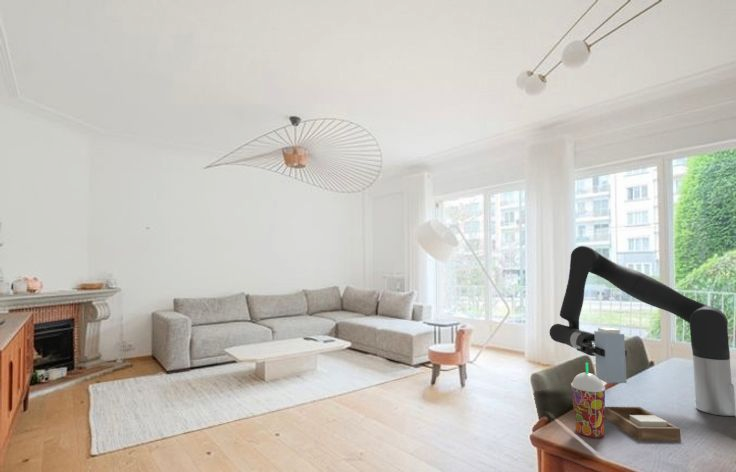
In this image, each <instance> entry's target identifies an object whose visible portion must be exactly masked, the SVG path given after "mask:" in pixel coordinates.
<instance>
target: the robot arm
mask: <svg viewBox="0 0 736 472" xmlns="http://www.w3.org/2000/svg"><path fill="white" fill-rule="evenodd" d="M569 261H570V262H569V274H568V279H567V285H566V289H565V293H564V296H563V298H562V299H563V300H562V303H561V306H560V307H561V308H560V311H559V316H560V317H561V319H563V320H565V321H567V323H568V325H565V324H561V323H554V324H553V325H552V326H550V329H549V336H550V338H551V340H553V341H555V342H557V343H559V344H560V343H561V344H563V345H567V346H569V347H571V348H573V349H575V350H576V351H577V352H580V353H583V354H585V355H587V356H591V357H595V355H596V354H597V355H600V356H605V350H604V349H601V348H599V347H597V346H595V335H594V333H592V332H589V331H587V330H581V329H580V316H581V313H582V309H583V305H584V300H585V288H586V284H587V283H586V282H587V279H588V276H589V273H590V274H593V275H596V276H598V277H601V278H602V279H604V280H606V281H607V282H608V283H611V284H612V285H613V286H614V287H616V288H618V289H619V290H620V291H622V292H623V293H625V294H627V295H629V296H630V297H632V298H635V300H636V299H637V300H638V301H639V302H642V303H644V304H647V305H648V306H652V307H654V308H657V309H660V310H663V311H666V312H668V313H671V314H673V315H675V316H677V317H679V318H680V319H682V320H684V321H685V322H687V323H688V324H689V329H690V330H689V331H690V344H691V350H692V363H693V364H692V365H693V379H694V381H693V383H694V394H695V395H694V396H695V397H694V398H695V400H694V401H695V407H696V409H697V410H699V411H701V412H703V413H707V414H711V415H715V416H716V415H717V416H724V417H729V416H730V417H736V402H735V401H736V400H735V386H734V384H733V382H732V372H731V370H732V369H731V355H730V344H729V329H728V325H729V322H728V318H727V316H726V314H724V312H722V311H721V310H720V309H718V308H716V307H713V306H710V305H707V304H705V303H702V302H699V301H698V300H695V299H692V298H690V297H687V296H685V295H683V294H682V293H680V292H678V291H677V290H675V289H673V288H672V287H670V286H668V285H666V284H664V283H663V282H660V281H658V280H657V279H655V278H653V277H651V276H650V275H647V274H645V273H643V272H640V271H638V270H636V269H633V268H630V267H627V266H624V265H621V264H619V263H616V262H615V261H612V260H611V259H609V258H607V257H605V256H603V255H602V254H600V253H599V252H598V251H596V250H595V249H593V248H592V247H589V246H586V245H580V246H577V247H576V248H574V249H573V250H572V251H571V254H570V260H569ZM627 353H628V352H627V350H626V349H625V357H627V355H628V354H627Z"/></svg>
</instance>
